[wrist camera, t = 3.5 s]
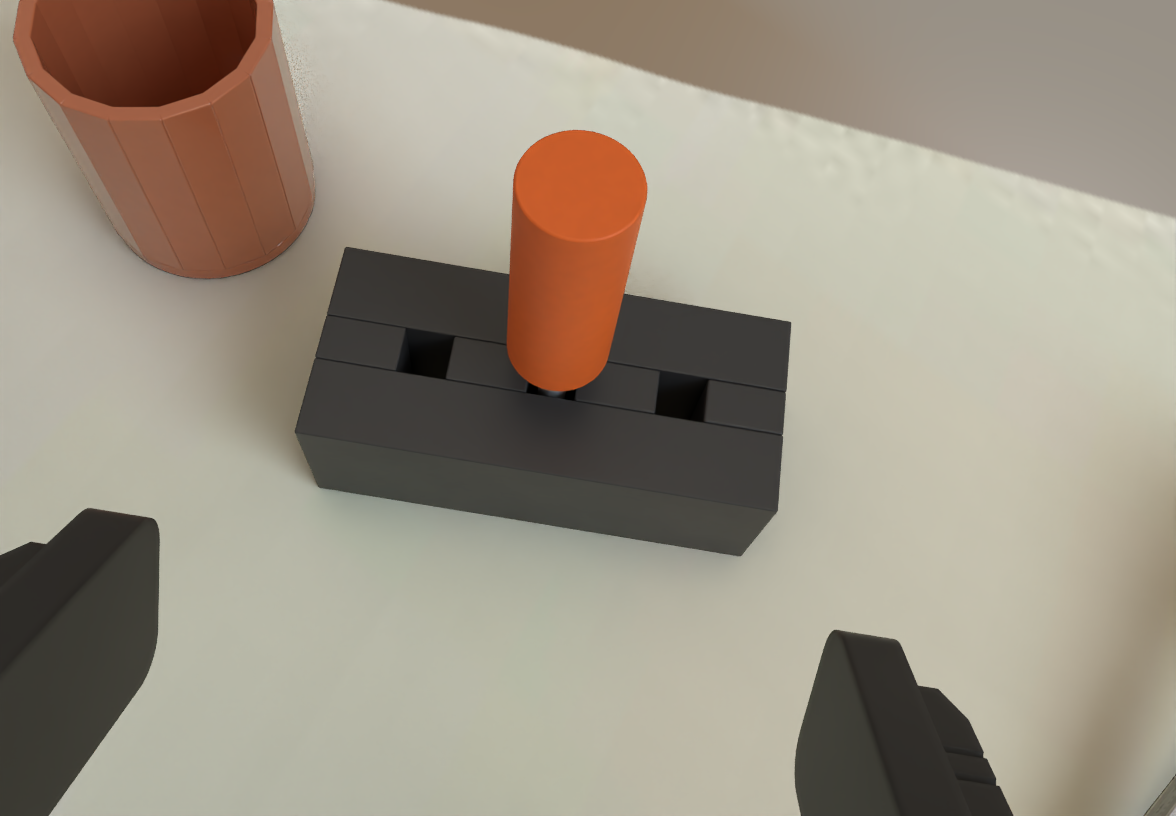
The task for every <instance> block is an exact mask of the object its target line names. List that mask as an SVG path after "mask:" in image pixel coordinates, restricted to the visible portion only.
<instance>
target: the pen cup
mask: <svg viewBox="0 0 1176 816" xmlns="http://www.w3.org/2000/svg"><path fill="white" fill-rule="evenodd" d="M13 42H14V45H15V47H16V50H17V52H18V55H19V58H20V60H21V63H22V65H23V68H24V71H25V73H26V76H27V77H28V79H29V81H30V83H31V84H32V86H33V88H34V89H35V91H36V93H37V95H38V96H39V98H40V100H41V102H42V103H43V105H44V107H45V109H46V110H47V112H48V114H49V115H50V117H51V119H52V121H53V122H54V124H55V126H56V128H57V129H58V131H59V133H60V134H61V136H62V138H63V140H64V141H65V143H66V145H67V147H68V148H69V150H70V152H71V154H72V155H73V157H74V159H75V160H76V162H77V164H78V166H79V167H80V169H81V171H82V173H83V174H84V176H85V178H86V180H87V181H88V183H89V185H90V186H91V188H92V190H93V192H94V193H95V195H96V197H97V199H98V200H99V202H100V204H101V206H102V207H103V209H104V211H105V212H106V214H107V216H108V218H109V219H110V221H111V223H112V225H113V226H114V228H115V230H116V232H117V233H118V234H119V235H120V236H121V237H122V238H123V240H124V241H125V243H126V244H127V245H128V246H129V247H130V248H131V249H132V251H133V252H134V253H135V254H137V255H138V256H139V257H140V258H142V259H143V260H144V261H146V262H148V263H149V264H151V265H153V266H155V267H156V268H159V269H161V270H164V271H166V272H169V273H172V274H176V275H179V276H184V277H191V278H205V279H210V278H223V277H228V276H234V275H238V274H241V273H245V272H248V271H251V270H253V269H255V268H258V267H260V266H262V265H264V264H266V263H267V262H269V261H271V260H273V259H274V258H276V257H277V256H278V255H280V254H281V253H282V252H284V251H285V250H286V249H287V248H288V247H289V246H290V245H291V244H292V243H293V242H294V241H295V240H296V238H297V237H298V236H299V235H300V233H301V232H302V230H303V229H304V227H305V225H306V224H307V222H308V219H309V217H310V215H311V212H312V208H313V205H314V199H315V179H314V175H313V163H312V159H311V155H310V151H309V146H308V142H307V138H306V134H305V130H304V126H303V122H302V118H301V114H300V109H299V105H298V101H297V97H296V93H295V89H294V85H293V81H292V77H291V73H290V68H289V64H288V60H287V56H286V52H285V48H284V44H283V40H282V36H281V31H280V27H279V23H278V19H277V15H276V11H275V7H274V3H273V0H20V1H19V5H18V10H17V16H16V22H15V28H14V34H13Z"/></svg>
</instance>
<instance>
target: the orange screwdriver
mask: <svg viewBox="0 0 1176 816" xmlns="http://www.w3.org/2000/svg"><path fill="white" fill-rule="evenodd" d="M646 199H647V182H646V177H645V174H644V172H643V169H642V167H641V165H640V164H639V162H638V160H637V159H636V158H635V156H634V155H633V154H632V153H631V152H630V151H629V150H628V149H627V148H626V147H625V146H623V145H622V144H620V143H619V142H617V141H616V140H614V139H612V138H610V137H608V136H605V135H603V134H599V133H596V132H591V131H585V130H569V131H562V132H558V133H554V134H551V135H549V136H546V137H544V138H542V139H541V140H539V141H537V142H536V143H535V144H533V145H532V146H531V147H530V148H529V149H528V150H527V151H526V152H525V153H524V155H523V156H522V157H521V159H520V161H519V162H518V164H517V167H516V170H515V173H514V179H513V203H512V226H511V250H510V274H509V298H508V322H507V352H508V356H509V359H510V361H511V363H512V365H513V367H514V368H515V370H516V371H517V372H518V373H519V374H520V375H521V376H522V377H523V378H524V379H525V380H527V381H528V382H529V383H531V384H533V385H535V386H537V387H538V392H537V395H541V396H547V397H553V398H559V399H565V395H566V391H569V390H574V389H577V388H580V387H582V386H584V385H586V384H588V383H590V382H591V381H593V380H594V379H595V378H596V377H597V376H598V375H599V374H600V373H601V371H602V370H603V368H604V367H605V365H606V362H607V360H608V356H609V352H610V348H611V344H612V340H613V336H614V332H615V328H616V324H617V319H618V315H619V311H620V307H621V303H622V299H623V295H624V290H625V286H626V282H627V278H628V274H629V270H630V266H631V262H632V257H633V253H634V249H635V245H636V241H637V237H638V233H639V228H640V224H641V220H642V216H643V212H644V208H645V204H646Z"/></svg>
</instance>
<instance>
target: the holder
mask: <svg viewBox="0 0 1176 816" xmlns="http://www.w3.org/2000/svg"><path fill="white" fill-rule="evenodd" d="M508 298H509V274H504V273H498V272H492V271H486V270H480V269H474V268H468V267H462V266H456V265H450V264H445V263H439V262H433V261H427V260H421V259H415V258H409V257H403V256H397V255H391V254H385V253H379V252H374V251H368V250H362V249H356V248H350V247H346V248H345V250H344V254H343V257H342V261H341V265H340V268H339V272H338V275H337V279H336V283H335V286H334V290H333V294H332V297H331V301H330V305H329V308H328V312H327V316H326V319H325V323H324V326H323V330H322V334H321V337H320V341H319V345H318V348H317V352H316V356H315V357H316V358H315V360H314V363H313V367H312V370H311V374H310V377H309V381H308V385H307V388H306V392H305V396H304V399H303V403H302V407H301V410H300V414H299V417H298V421H297V425H296V428H295V434H296V436H297V438H298V441H299V443H300V445H301V448H302V450H303V452H304V455H305V457H306V459H307V461H308V464H309V466H310V468H311V471H312V473H313V475H314V478H315V480H316V482H317V484H318V487H320V488H326V489H332V490H338V491H344V492H350V493H356V494H362V495H369V496H375V497H381V498H387V499H393V500H399V501H405V502H411V503H418V504H424V505H430V506H436V507H442V508H448V509H454V510H460V511H467V512H473V513H479V514H485V515H491V516H497V517H503V518H509V519H516V520H522V521H528V522H534V523H540V524H546V525H552V526H558V527H565V528H571V529H577V530H583V531H589V532H595V533H601V534H607V535H614V536H620V537H626V538H632V539H638V540H644V541H650V542H656V543H663V544H669V545H675V546H681V547H687V548H693V549H699V550H705V551H712V552H718V553H724V554H730V555H736V556H741V555H742V554H743V553H744V552H745V550H746V549H747V548H748V547H749V545H750V544H751V543H752V542H753V541H754V539H755V538H756V537H757V536H758V534H759V533H760V532H761V531H762V530H763V528H764V527H765V526H766V525H767V523H768V522H769V521H770V520H771V519H772V517H773V516H774V515H775V514H776V512H777V511H778V499H779V485H780V472H781V458H782V444H783V436H782V434H783V427H784V413H785V400H786V394H785V392H786V389H787V376H788V362H789V348H790V334H791V322H788V321H782V320H776V319H770V318H764V317H758V316H752V315H746V314H740V313H735V312H729V311H723V310H717V309H711V308H705V307H699V306H693V305H687V304H681V303H675V302H669V301H664V300H658V299H652V298H646V297H640V296H634V295H628V294H624V295H623V299H622V303H621V307H620V311H619V315H618V319H617V324H616V328H615V332H614V336H613V340H612V344H611V348H610V352H609V356H608V360H607V362H606V365H605V367H604V368H603V370H602V371H601V373H600V374H599V375H598V376H597V377H596V378H595V379H594V380H593V381H591V382H590V383H588V384H586V385H584V386H582V387H580V388H577V389H574V390H569V391H566V395H565V399H559V398H553V397H547V396H541V395H537V392H538V387H537V386H535V385H533V384H531V383H529V382H528V381H527V380H525V379H524V378H523V377H522V376H521V375H520V374H519V373H518V372H517V371H516V370H515V368H514V367H513V365H512V363H511V361H510V359H509V356H508V352H507V322H508Z"/></svg>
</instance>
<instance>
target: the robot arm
mask: <svg viewBox="0 0 1176 816" xmlns="http://www.w3.org/2000/svg"><path fill="white" fill-rule="evenodd" d="M159 546H160V538H159V528H158V525H157V523H156V521H155V520H154V519H152V518H148V517H142V516H136V515H129V514H123V513H117V512H111V511H105V510H98V509H92V508H87V509H85V510H83V511H82V512H81V513H79V514H78V515H77V516H76V517H75V518H74V519H73V520H72V521H71V522H70V523H69V524H68V525H67V526H65V527H64V528H63V529H62V530H61V531H60V532H59V533H58V534H57V535H56V536H55V537H54V538H53V539H52V540H50V541H49V542H48V543H47V544H41V543H35V542H29V543H27V544H25V545H23V546H20V547H18V548H16V549H14V550H11V551H9V552H7V553H5V554H2V555H0V816H49V814H50V813H51V812H52V810H53V809H54V807H55V806H56V805H57V803H58V802H59V800H60V799H61V798H62V796H63V795H64V793H65V792H66V791H67V789H68V788H69V786H70V785H71V784H72V782H73V781H74V779H75V778H76V777H77V775H78V774H79V772H80V771H81V770H82V768H83V767H84V765H85V764H86V763H87V761H88V760H89V758H90V757H91V756H92V754H93V753H94V751H95V750H96V749H97V747H98V746H99V744H100V743H101V742H102V740H103V739H104V737H105V736H106V735H107V733H108V732H109V730H110V729H111V728H112V726H113V725H114V723H115V722H116V721H117V719H118V718H119V716H120V715H121V714H122V712H123V711H124V709H125V708H126V707H127V705H128V704H129V702H130V701H131V699H132V698H133V697H134V695H135V694H136V692H137V691H138V690H139V688H140V687H141V685H142V684H143V682H144V680H145V678H146V676H147V674H148V671H149V669H150V666H151V663H152V660H153V657H154V653H155V649H156V643H157V636H158V602H159ZM983 753H984V752H983V750H982V748H981V745H980V743H979V741H978V739H977V737H976V735H975V733H974V730H973V728H972V726H971V724H970V722H969V720H968V719H967V718H966V717H965V716H964V715H963V714H962V713H961V712H960V711H959V710H958V709H957V708H956V707H955V706H954V705H953V704H952V703H951V702H950V701H949V700H948V699H947V698H946V697H945V696H944V695H943V694H942V692H941V691H940V690H939V689H935V688H929V687H923V686H918V685H917V683H916V680H915V678H914V675H913V673H912V671H911V668H910V666H909V663H908V661H907V659H906V656H905V654H904V651H903V649H902V647H901V645H900V643H899V642H898V641H897V640H895V639H889V638H883V637H877V636H871V635H865V634H858V633H852V632H846V631H840V630H834V631H832V632H831V634H830V635H829V637H828V638H827V641H826V643H825V646H824V649H823V653H822V656H821V660H820V663H819V667H818V671H817V674H816V678H815V681H814V685H813V688H812V692H811V695H810V699H809V702H808V706H807V709H806V713H805V716H804V720H803V723H802V727H801V730H800V734H799V738H798V743H797V749H796V757H795V788H796V794H797V799H798V803H799V808H800V813H801V816H1013V814H1012V812H1011V810H1010V807H1009V805H1008V803H1007V801H1006V799H1005V797H1004V795H1003V792H1002V790H1001V788H1000V786H996V777H995V775H994V773H993V771H992V769H991V767H990V765H989V763H988V760H987V759H985V758H983Z"/></svg>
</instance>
